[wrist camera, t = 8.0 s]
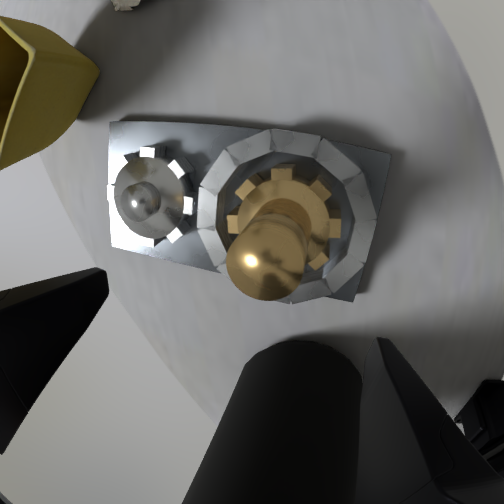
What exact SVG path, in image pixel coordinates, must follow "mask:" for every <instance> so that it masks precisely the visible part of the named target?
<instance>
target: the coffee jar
mask: <svg viewBox="0 0 504 504" xmlns="http://www.w3.org/2000/svg"><path fill="white" fill-rule="evenodd" d="M362 385H363V383H362V379H361V375H360V373H359V372H358V370H357V369H356V368H355V367H354V365H353V364H352V363H351V362H350V360H349V359H347V358H346V357H345V356H344V355H342V354H341V353H339V352H338V351H336V350H334V349H333V348H331V347H328V346H325V345H322V344H319V343H316V342H307V341H290V342H284V343H278V344H276V345H273V346H271V347H269V348H267V349H264V350H262V351H260V352H258V353H257V354H255V355H254V356H253V357H252V358H251V359H250V360H249V361H248V362H247V363H246V364H245V366H244V368H243V370H242V373H241V375H240V377H239V380H238V382H237V384H236V387H235V389H234V391H233V394H232V396H231V398H230V401H229V403H228V405H227V407H226V410H225V412H224V414H223V416H222V419H221V421H220V423H219V425H218V428H217V430H216V432H215V434H214V436H213V439H212V441H211V443H210V445H209V447H208V449H207V452H206V454H205V456H204V458H203V460H202V462H201V465H200V467H199V469H198V471H197V473H196V475H195V477H194V479H193V482H192V484H191V486H190V488H189V490H188V492H187V494H186V496H185V498H184V500H183V502H182V504H355V497H356V486H357V473H358V457H359V432H360V402H361V394H362Z"/></svg>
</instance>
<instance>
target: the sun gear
mask: <svg viewBox="0 0 504 504" xmlns="http://www.w3.org/2000/svg"><path fill="white" fill-rule="evenodd" d="M165 149H166V146H161V145H148V146H143V147H140V157H137V155H136V154H135V152H134V153H129V154H125V155H122V156H121V157H120V159H119V160H118V161H117V162H116V163H115V165H114V167H115V168H116V170H117V171H118V172H119V173H118V174H117V177H116V179H115V183H113V184H110V185H107V186H108V200H109V201H114V202H115V206H116V210H117V212H118V214H119V217H118V218H117V219H116V220H115V221H116V223H117V224H118V225H119V227H120V228H121V229H122V231H123V232H126V231H127V230H129V229H130V230H131V231H132V232H134V233H135V234H137V235H139V236H140V243H141V245H145V246H150V247H155V246H156V245H157V244H159V243H160V242H161V241H163V237H165V236H166V237H167V238H168V239H169V240H170V242H171V243H173V242H175V241H176V240H177V239H178V238H180V237H181V236H182V235H183V234H185V233H186V232H187V231H188V230H190V229H191V226H190V225H189V224H188V223H187V221H186V219H187V218H188V216H189V215H193V214H194V213H195V212H197V211H198V197H199V192H194V191H193V188H192V184H191V181H190V178H189V176H188V175H189V174H190V173H191V172H193V171H194V170H195V169H194V168H193V167H192V165H191V164H190V163H189V162H188V160H187V159H186V158H185V157H181V158H178V159H172V158H171V157H168V156H166V155H165Z"/></svg>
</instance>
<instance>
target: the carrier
mask: <svg viewBox="0 0 504 504" xmlns="http://www.w3.org/2000/svg"><path fill="white" fill-rule="evenodd" d="M148 145H161V146H166V149H165V155H166V156H168V157H171V158H172V159H178V158H181V157H185V158H186V159H187V160H188V162H189V163H190V164H191V165H192V167H193V168H194V169H195V170H194V171H193V172H191V173H190V174H189V175H188V176H189V178H190V181H191V184H192V188H193V191H194V192H199V197H198V211H197V212H195V213H194V214H193V215H189V216H188V218H187V219H186V221H187V223H188V224H189V225H190V226H191V229H190V230H188V231H187V232H186V233H185V234H183V235H182V236H181V237H180V238H178V239H177V240H176V241H175V242H173V243H171V242H170V240H169V239H168V238H167V237H166V236H165V237H163V241H161V242H160V243H159V244H157V245H156V246H155V247H150V246H145V245H141V243H140V236H139V235H137V234H135V233H134V232H132V231H131V230H130V229H129V230H127V231H126V232H123V231H122V229H121V228H120V227H119V225H118V224H117V223H116V221H115V220H116V219H117V218H118V217H119V214H118V212H117V210H116V206H115V202H114V201H109V204H110V223H111V237H112V246H114V247H118V248H121V249H125V250H129V251H133V252H137V253H141V254H145V255H149V256H152V257H156V258H160V259H164V260H168V261H172V262H176V263H180V264H185V265H189V266H193V267H197V268H201V269H205V270H209V271H213V272H218V273H222V274H223V275H225V276H226V277H227V278H228V279H230V277H229V274H228V271H227V267H226V256H227V252H228V250H229V247H230V246H231V244H232V243H233V242H234V240H235V239H236V238H237V236H238V235H239V234H236V233H228V222H227V215H228V214H229V213H230V212H231V211H232V210H233V209H234V208H235V207H236V206H241V204H242V202H243V200H242V199H241V198H240V197H239V196H238V195H236V194H235V192H236V190H237V189H238V188H239V187H240V186H241V185H242V184H243V183H244V182H245V181H246V180H247V179H248V178H249V177H251V176H252V175H253V174H255V173H256V174H257V175H258V176H259V177H260V178H261V179H262V180H263V181H264V180H265V179H267V178H269V177H271V168H272V167H274V166H275V165H276V164H296V175H299V176H302V177H304V178H306V179H308V180H310V181H311V180H312V179H314V178H315V177H316V176H317V175H318V174H319V175H320V176H321V177H322V178H323V179H324V180H325V181H326V182H327V183H328V184H329V185H330V186H331V187H332V195H331V196H330V197H329V198H328V199H327V202H328V205H329V209H340V210H341V235H340V238H328V241H327V244H328V245H329V246H330V254H329V260H328V261H327V262H326V263H324V264H323V265H322V266H321V267H319V268H318V269H317V270H316V271H315V270H314V269H313V268H312V267H311V266H310V265H309V264H306V265H305V266H304V271H303V276H302V279H301V282H300V284H299V285H298V287H297V288H296V289H295V291H293V292H292V293H291V294H290V295H288V296H286V297H284V298H282V299H279V300H274V301H278V302H282V303H287V304H290V301H291V302H292V304H295V303H299V302H304V301H308V300H312V299H316V298H320V297H329V298H334V299H339V300H343V301H348V302H353V301H354V298H355V295H356V292H357V289H358V285H359V282H360V279H361V276H362V272H363V269H364V266H365V263H366V260H367V256H368V253H369V249H370V246H371V242H372V238H373V234H374V231H375V227H376V223H377V218H378V214H379V210H380V206H381V201H382V197H383V193H384V188H385V184H386V179H387V174H388V169H389V164H390V159H391V154H389V153H385V152H381V151H377V150H373V149H369V148H365V147H360V146H356V145H351V144H346V143H342V142H337V141H332V140H327V139H326V138H325V137H324V138H323V139H321V136H320V135H314V134H308V133H302V132H296V131H290V130H283V129H268V130H264V129H256V128H247V127H238V126H228V125H217V124H204V123H188V122H165V121H113V122H110V128H109V185H110V184H113V183H115V179H116V177H117V174H118V173H119V172H118V171H117V170H116V168H115V167H114V165H115V163H116V162H117V161H118V160H119V159H120V157H121V156H122V155H125V154H129V153H134V152H135V154H136V155H137V157H140V147H143V146H148ZM230 280H231V279H230ZM231 281H232V280H231Z"/></svg>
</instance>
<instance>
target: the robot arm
mask: <svg viewBox="0 0 504 504" xmlns="http://www.w3.org/2000/svg"><path fill="white" fill-rule="evenodd" d="M108 294H109V285H108V278H107V273H106V271H105V270H103V269H100V268H97V267H94V268H90V269H86V270H82V271H78V272H74V273H70V274H66V275H62V276H58V277H54V278H50V279H46V280H42V281H38V282H34V283H30V284H26V285H22V286H19V287H15V288H12V289H7V290H3V291H0V454H1V455H2V454H3V453H4V452H5V450H6V448H7V446H8V445H9V443H10V441H11V440H12V438H13V436H14V435H15V433H16V431H17V430H18V428H19V427H20V425H21V423H22V422H23V420H24V419H25V417H26V415H27V414H28V412H29V410H30V409H31V407H32V406H33V404H34V403H35V401H36V400H37V398H38V397H39V395H40V394H41V392H42V391H43V389H44V388H45V386H46V385H47V383H48V382H49V381H50V379H51V377H52V376H53V375H54V373H55V372H56V371H57V369H58V368H59V366H60V365H61V364H62V362H63V361H64V359H65V358H66V357H67V355H68V354H69V352H70V351H71V350H72V348H73V347H74V346H75V344H76V343H77V342H78V340H79V339H80V338H81V336H82V335H83V334H84V332H85V331H86V330H87V328H88V327H89V325H90V323H91V322H92V321H93V319H94V317H95V316H96V314H97V313H98V311H99V309H100V308H101V306H102V305H103V303H104V302H105V300H106V298H107V297H108ZM455 423H462V424H463V428H464V433H465V435H464V434H463V433H462V431H461V430H460V429H459V428H458V426H457V425H456V424H455ZM0 504H12V503H11V502H10V501H9V500H8V499H7V498H6V497H5V496H4V495H3V494H2V493H1V492H0ZM355 504H504V381H503V380H486V381H484V382H483V383H482V384H481V385H480V387H479V388H478V390H477V391H476V392H475V393H474V395H473V396H472V397H471V399H470V400H469V401H468V402H467V404H466V405H465V406H464V407H463V409H462V410H461V411H460V412H459V413H458V415H457V416H456V417H455V418H454V421H453V420H452V418H451V417H450V416H449V415H447V412H446V410H445V409H444V408H443V406H442V405H441V404H440V403H439V401H438V400H437V399H436V397H435V396H434V395H433V393H432V392H431V391H430V389H429V388H428V387H427V386H426V384H425V383H424V382H423V380H422V379H421V378H420V377H419V375H418V374H417V373H416V372H415V370H414V369H413V368H412V367H411V365H410V364H409V363H408V362H407V360H406V359H405V358H404V357H403V355H402V354H401V353H400V352H399V350H398V349H397V348H396V347H395V345H394V344H393V343H392V342H391V341H390V340H389V339H388V338H382V337H376V338H375V339H374V341H373V343H372V346H371V348H370V350H369V352H368V354H367V357H366V360H365V366H364V376H363V385H362V394H361V402H360V432H359V457H358V473H357V486H356V497H355Z"/></svg>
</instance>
